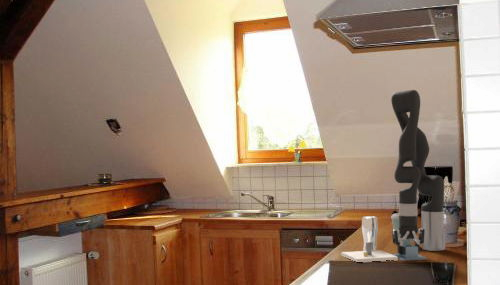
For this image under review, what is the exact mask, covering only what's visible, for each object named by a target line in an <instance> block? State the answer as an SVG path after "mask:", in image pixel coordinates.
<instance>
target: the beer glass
mask: <svg viewBox="0 0 500 285" xmlns="http://www.w3.org/2000/svg"><path fill="white" fill-rule="evenodd" d="M361 218H362V219H361V232H362V237H363V248H362V251H366V242H372V251H374V250H378V248H377V237H378V229H379V227H378V226H379V225H378V224H379V223H378V216H371V215H369V216H368V215H367V216H366V215H363V216H362V217H361Z"/></svg>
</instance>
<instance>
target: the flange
mask: <svg viewBox="0 0 500 285" xmlns="http://www.w3.org/2000/svg"><path fill="white" fill-rule="evenodd" d="M402 246H403V255H399V253H391V254H392V255H394V256H397V257H398V260H401V261H404V262H405V261H421V260H423V261H425V260H427V257H426V256H424V255H421V254H418V246H415V244H412V243H411V244H410V245H402Z"/></svg>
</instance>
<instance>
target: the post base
mask: <svg viewBox="0 0 500 285" xmlns="http://www.w3.org/2000/svg"><path fill="white" fill-rule="evenodd" d="M392 254H393V253H388V252H386V251H383V250H382V249H381V250H379V249H377V250H374V251H372V242H366V251H363V250H361V251H359V250H358V251H357V250H356V251H342V252H341V253H340V255H341V257H343V258H345V257H346V258H345V259H347V258H349V259H351V260H350V261H352V260H353V261H352V262H354V261H356V262H363V263H373V262H372V261H381V262H387V261H386V260H390V261H389V262H392V261H391V260H394V261H393V262H395V261H397V262H398V261H399V258H398V257H397V256H394V255H392ZM349 259H348V260H349ZM356 262H355V263H356Z"/></svg>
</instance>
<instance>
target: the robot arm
mask: <svg viewBox="0 0 500 285" xmlns="http://www.w3.org/2000/svg"><path fill="white" fill-rule="evenodd" d="M390 100H391V105H392V109H393V112H394V114H395V117H396V119H397V121H398V124H399V127H400V129H401V134H400V137H399V139H398V140H399V141H398V159H397V164H396V168H395V170H394V176H393V177H394V180H395V182H396V183H398V184H411V186H410V187H407V188H402V189H400V190H399V197H398V200H399V203H398V213H399V229H398V230H394V229H391V234H392V235H391V236H392V244H393V245H396V246H397V254H399V255H403V246H402V245H403V242H404V241H405V240H406V239H409V238H410V239H412V242H413V243H414V245H415V246H418V255H420V254H419V253H420V252H421V251H420V249H422V250H424V251H429V252H430V251H431V252H432V251H433V252H438V251H439V252H441V251H445V250H446V228H445V227H444V210H443V209H444V201H445V181H444V179H443V177H442V176H440V175H433V174H431V175H427V172H426V169H425V165H426V163H427V162H426V161H427V159H428V156H429V153H430V145H429V142H428V138H427V135H426V134H425V133H424V131H422V129H420V127H418V126H419V119H420V112H421V96H420V94H419V92H418V91H417V90H415V89H409V90H402V91H396V92H393V94H392V95H391V99H390ZM408 113H409V115H408ZM408 162H411V166H410V165H409V166H406V165H404V164H406V163H408ZM418 193H419V195H422V196H427V197H431V199H430V201H428V202H425V203H422V205H421V206H420V209H421V213H420V214H421V221H420V222H421V223H420V224H421V227H420V228H418V226H419V225H418V221H419V220H418V211H419V210H418V204H417V203H418V200H417V199H418V198H417V197H418V196H417V195H418ZM398 233H400V234H401V235H400V237H399V240H398ZM417 234H418V236H417ZM420 245H421V248H420Z"/></svg>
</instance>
